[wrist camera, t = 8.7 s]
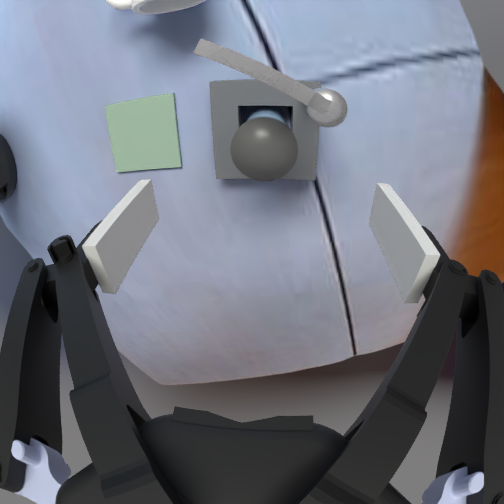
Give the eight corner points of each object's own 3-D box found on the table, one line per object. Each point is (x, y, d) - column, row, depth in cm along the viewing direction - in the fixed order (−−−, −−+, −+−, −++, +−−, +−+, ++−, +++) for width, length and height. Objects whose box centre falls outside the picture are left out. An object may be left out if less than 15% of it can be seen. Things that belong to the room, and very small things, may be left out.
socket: (219, 171, 35) (198, 218, 25) (213, 81, 28) (184, 88, 18) (312, 172, 34) (329, 221, 25) (317, 81, 27) (342, 88, 17)
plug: (242, 148, 33) (232, 181, 25) (241, 103, 29) (228, 118, 21) (289, 149, 32) (296, 181, 24) (290, 104, 29) (299, 119, 21)
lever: (347, 100, 18) (354, 103, 16) (328, 128, 19) (334, 134, 18) (211, 32, 15) (205, 28, 13) (195, 63, 17) (188, 62, 15)
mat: (118, 171, 35) (116, 172, 35) (106, 105, 29) (104, 106, 29) (182, 166, 35) (181, 167, 34) (174, 92, 28) (173, 93, 28)
